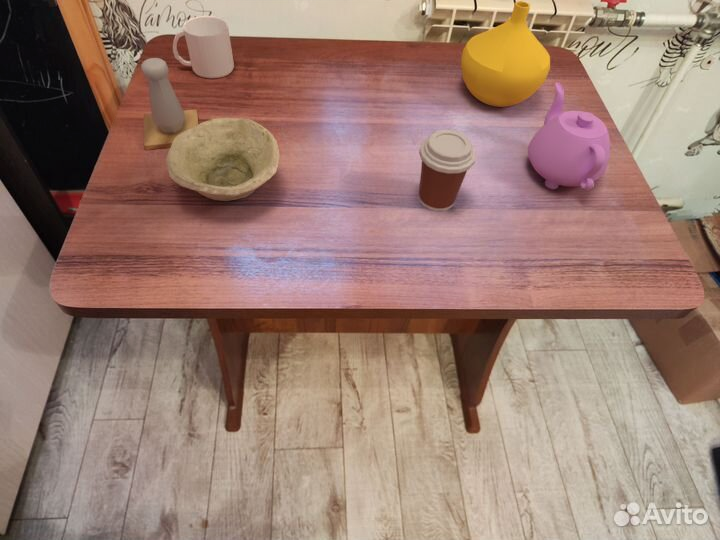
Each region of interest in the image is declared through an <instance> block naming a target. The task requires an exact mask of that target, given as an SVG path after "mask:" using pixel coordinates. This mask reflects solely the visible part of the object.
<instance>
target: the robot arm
mask: <svg viewBox="0 0 720 540" xmlns="http://www.w3.org/2000/svg"><path fill="white" fill-rule="evenodd" d="M41 1H42V2H43V3H45V2H46V3H48V5H49V8H50V7H51V8H53V7H58V4H57V0H41Z"/></svg>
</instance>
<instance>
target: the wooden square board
mask: <svg viewBox="0 0 720 540" xmlns="http://www.w3.org/2000/svg"><path fill="white" fill-rule="evenodd" d="M183 112H184V114H185V118H184V121H183V126H182V129H181V130H179V131H177V132H175V133H164V132H163V131H162V130H161V129H160V128H159V127H158V126H157V125H156V124H155V123H154V121H153V119H152V113H145V114H143V148H144V150H145V151H148V150H149V151H150V150H159V149H167V148H169V149H170V147H171V145H172V143H173V140H174V139H175V138H176V137H177V136H178V135H180V134H181V133H182V132H184V131H187V130H189V129H192V128H193V127H195V126H197V125H199V124H200V123H199V122H200V121H199V114H198V109H197V108H196V109H185V110H184V109H183Z"/></svg>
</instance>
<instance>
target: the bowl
mask: <svg viewBox="0 0 720 540" xmlns="http://www.w3.org/2000/svg"><path fill="white" fill-rule="evenodd" d="M279 149H280V148H279V144H278V141H277V139H276V138H275V136H274V134H273V133H272V132H271V131H269V130H268V129H267V128H266V127H264V126H263V125H262V124H260V123H258V122H257V121H254V120H252V119H249V118H243V117H241V118H239V117H238V118H237V117H217V118H211V119H208V120H205V121H203V122H200V123H199V125H197V126H195V127H193V128H192V129H189V130H187V131H184V132H182V133H181V134H180V135H178V136H177V137H176V138H175V139H174V140H173V143H172V145H171V147H169V150H168V151H167V154H166V157H165V164H166V168H167V172H168V176H169V177H170V178H171V179H172V181H174V183H175V184H178V185H179V186H180V187H182V188H186V189H189V190H193V191H195V192H197V193H199V195H202V196H204V197H205V198H208V199H210V200H213V201H220V202H230V201H234V200H241V199H245V198H247V197H248V196H250V195H252V194H253V193H254V192H255V191H256V190H257V189H258V188H260V187H261V186H263V185H264V184H265V183H267V182H268V181H269V180H270V179H272V177H273V176H274V175H276V173H277V171H278V167H279V163H280V150H279Z"/></svg>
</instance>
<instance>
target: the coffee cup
mask: <svg viewBox="0 0 720 540" xmlns="http://www.w3.org/2000/svg"><path fill="white" fill-rule="evenodd" d="M418 154H419V157H420V160H421V168H420V177H419V189H418V195H417V196H418V200H419V203H420V204H421V205H422V206H423V207H424V208H426V209H428V210H430V211H434V212H445V211H447V210H450V209H451V208H452V207H453V206H454V204H455V202H456V200H457V197H458V194H459V193H460V192H459V191H460V189H461V187H462V184H463V181H464V179H465V177H466V174H467V172H468V171H469V170H470V169H471V168H472V167H473V166H474V165H475V162H476V156H477V153H476V151H475V149H474V146H473V143H472V142H471V140H470V139H469V138H468V137H467V136H466V134H463V133H461V132H459V131H456V130H453V129H452V130H451V129H440V130H437V131H435V132H433V133H432V134H430V135H429V136H428V137H426V139H424V140H423V141H422V142H421V144H420V146H419V151H418Z"/></svg>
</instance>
